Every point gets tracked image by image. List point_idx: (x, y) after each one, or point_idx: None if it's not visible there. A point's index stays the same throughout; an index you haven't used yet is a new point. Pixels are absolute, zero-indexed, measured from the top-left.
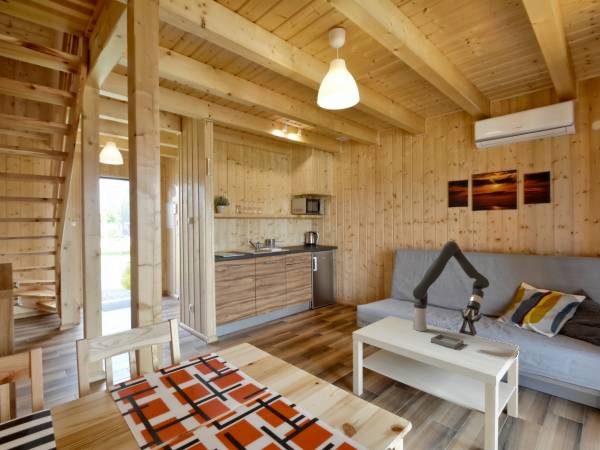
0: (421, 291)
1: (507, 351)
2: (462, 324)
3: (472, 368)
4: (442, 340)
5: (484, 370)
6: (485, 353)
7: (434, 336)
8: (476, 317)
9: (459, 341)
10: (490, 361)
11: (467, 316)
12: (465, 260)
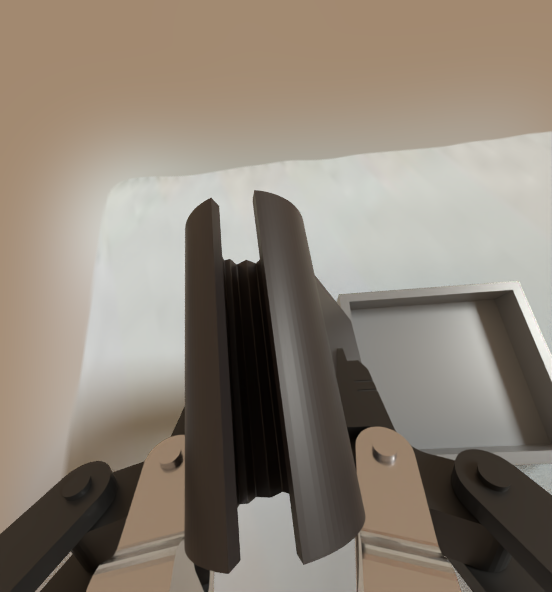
0: None
1: None
2: (325, 290)
3: (183, 177)
4: (481, 379)
5: (143, 195)
6: (184, 392)
7: (540, 336)
8: (35, 555)
9: None
10: (139, 297)
11: (206, 201)
12: None
